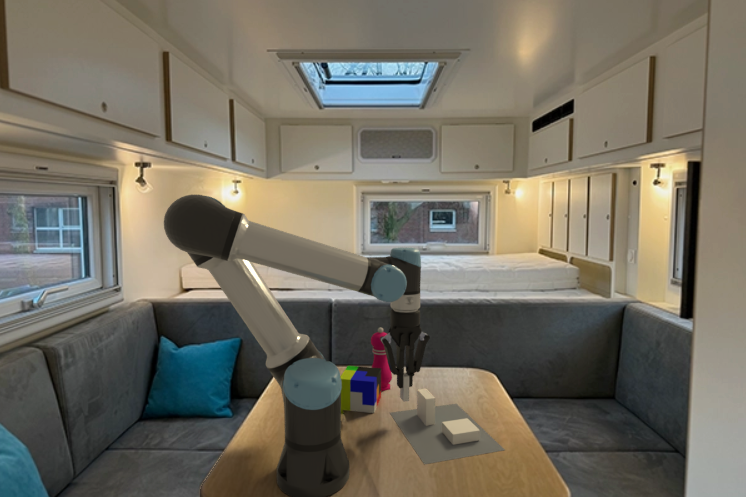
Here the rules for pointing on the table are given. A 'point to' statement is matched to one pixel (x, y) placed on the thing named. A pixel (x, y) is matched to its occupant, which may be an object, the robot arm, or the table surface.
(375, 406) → the puzzle toy
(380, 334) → the pepper mill
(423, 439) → the slate board
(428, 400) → the tile
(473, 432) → the tile
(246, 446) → the table surface
